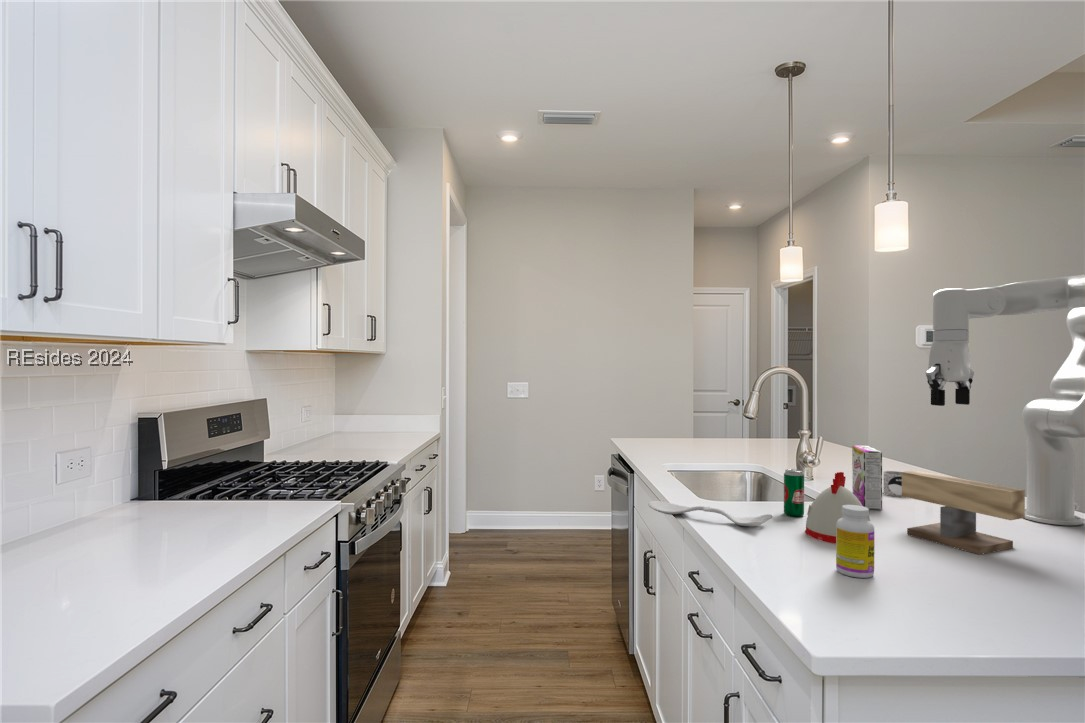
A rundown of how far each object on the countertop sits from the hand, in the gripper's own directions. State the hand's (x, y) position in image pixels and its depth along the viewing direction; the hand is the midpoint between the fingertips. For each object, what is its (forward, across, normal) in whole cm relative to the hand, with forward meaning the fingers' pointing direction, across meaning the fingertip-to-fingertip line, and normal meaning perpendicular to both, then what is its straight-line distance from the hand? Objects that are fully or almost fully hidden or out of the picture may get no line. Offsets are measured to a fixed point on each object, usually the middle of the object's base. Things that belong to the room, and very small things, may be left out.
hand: (950, 404), depth 151 cm
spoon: (+31, +54, -28) cm, 69 cm away
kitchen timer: (+31, +35, -4) cm, 47 cm away
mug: (+31, -20, -27) cm, 45 cm away
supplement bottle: (+31, +53, +15) cm, 63 cm away
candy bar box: (+31, +2, -22) cm, 38 cm away
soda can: (+31, +30, -22) cm, 48 cm away
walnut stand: (+30, +13, +10) cm, 34 cm away
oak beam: (+22, +13, +10) cm, 28 cm away
